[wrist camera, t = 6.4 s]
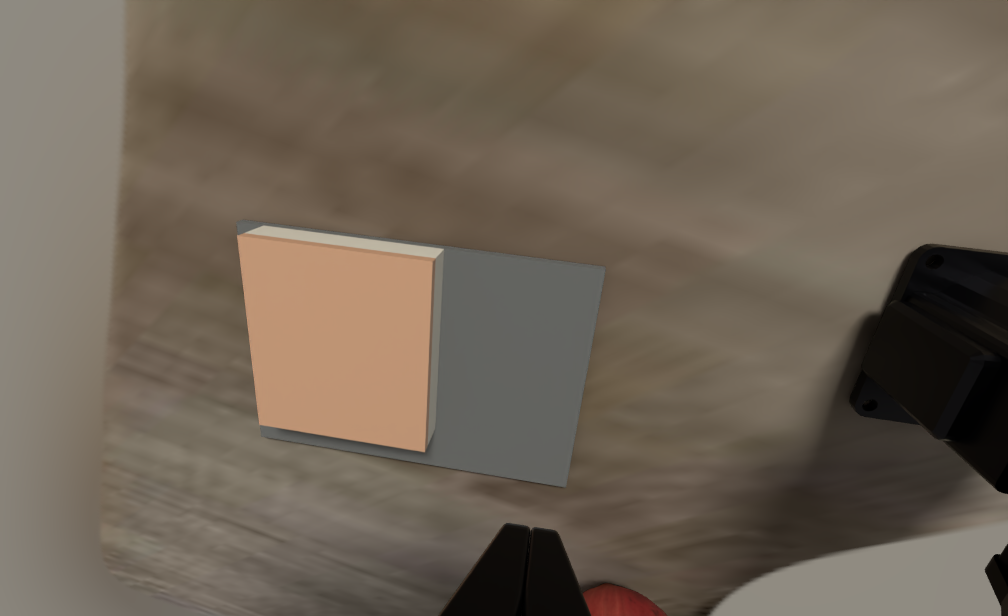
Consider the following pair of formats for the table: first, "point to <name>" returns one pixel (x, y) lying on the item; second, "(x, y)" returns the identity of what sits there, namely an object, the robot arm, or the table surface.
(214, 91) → the table surface
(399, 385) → the tile
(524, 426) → the mat
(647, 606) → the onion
